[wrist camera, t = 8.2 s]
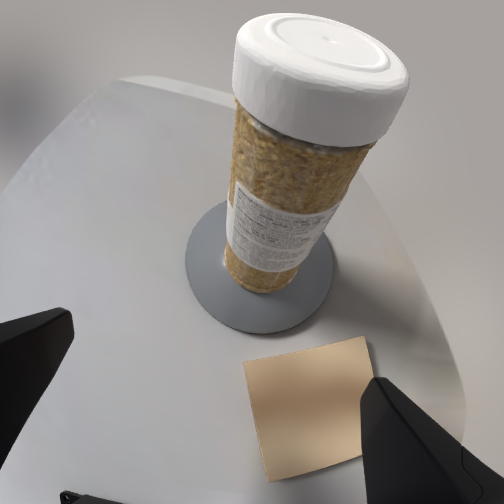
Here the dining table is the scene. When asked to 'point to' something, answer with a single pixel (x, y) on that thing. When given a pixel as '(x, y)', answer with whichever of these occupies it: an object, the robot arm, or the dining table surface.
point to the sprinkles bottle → (300, 136)
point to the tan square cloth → (309, 406)
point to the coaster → (243, 300)
